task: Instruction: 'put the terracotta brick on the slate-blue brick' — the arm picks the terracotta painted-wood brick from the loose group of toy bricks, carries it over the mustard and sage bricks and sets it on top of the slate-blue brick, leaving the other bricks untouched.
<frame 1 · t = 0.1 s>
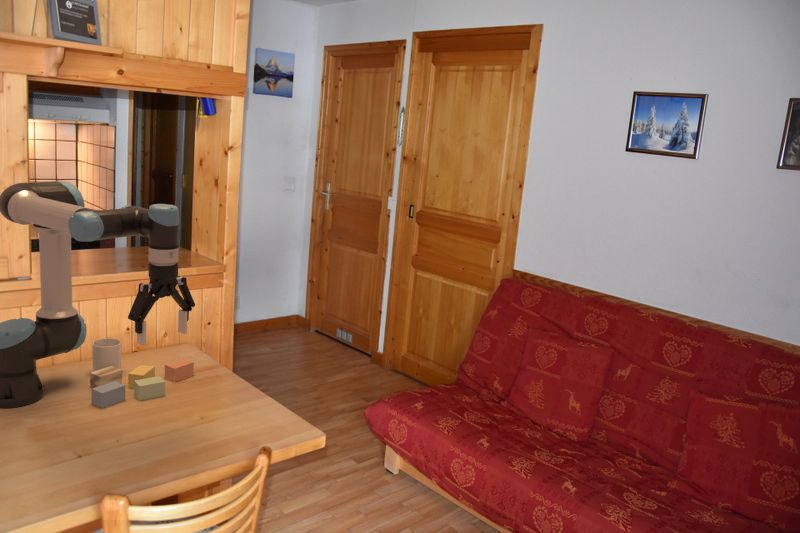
hand: (162, 338, 179), 28 cm above the table, fingers open, 13 cm apart
sage brick: (149, 395, 207), on the table
birch brick: (106, 385, 212), on the table
slate brick: (108, 402, 200), on the table
mug: (107, 372, 222), on the table
terracotta brick: (179, 377, 223), on the table
mustard brick: (141, 384, 215), on the table
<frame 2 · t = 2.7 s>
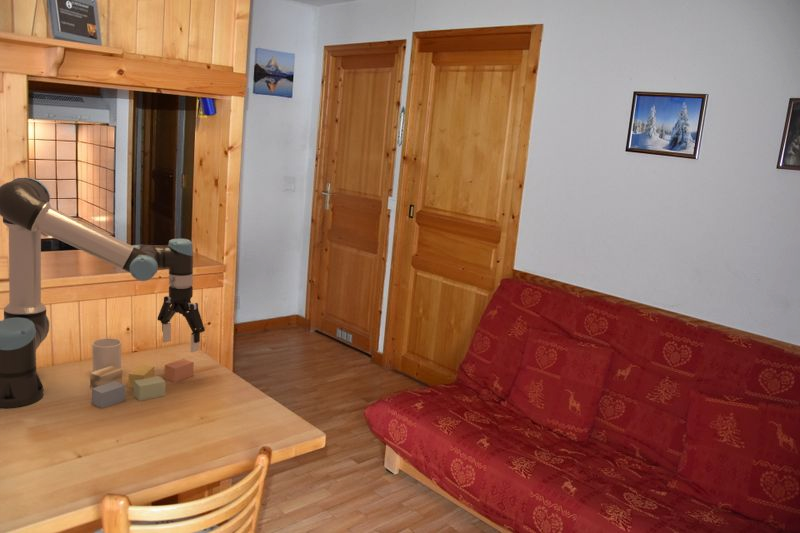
hand: (180, 346, 221), 11 cm above the table, fingers open, 13 cm apart
nothing on the table moved.
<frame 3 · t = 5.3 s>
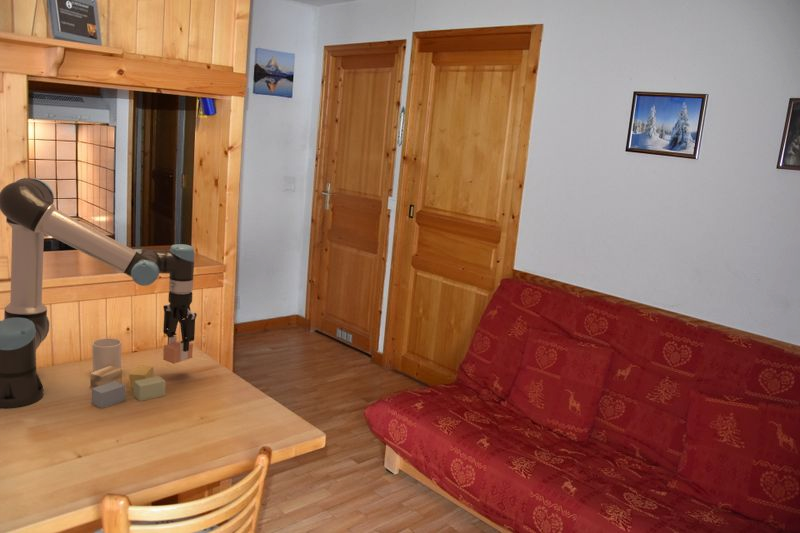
hand: (177, 357, 222), 7 cm above the table, fingers closed on terracotta brick, 5 cm apart
terracotta brick: (177, 358, 222), point 7 cm above the table, touching gripper
everything else where it was.
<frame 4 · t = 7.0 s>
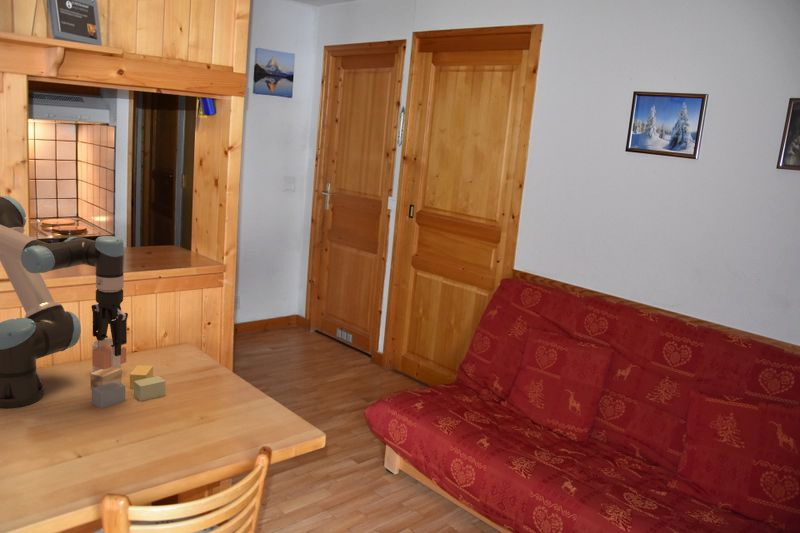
hand: (109, 362, 198), 12 cm above the table, fingers closed on terracotta brick, 5 cm apart
terracotta brick: (109, 363, 199), point 12 cm above the table, touching gripper
everything else where it was.
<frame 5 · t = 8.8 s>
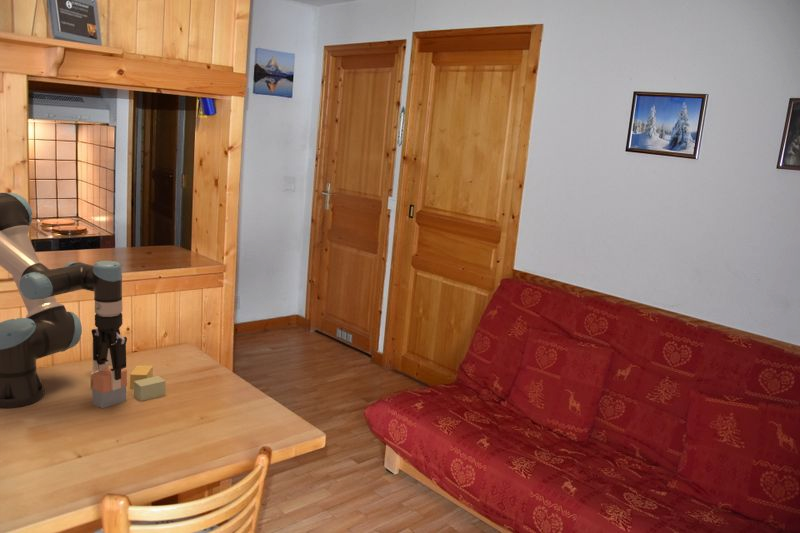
hand: (110, 386, 199), 5 cm above the table, fingers closed on terracotta brick, 5 cm apart
slate brick: (109, 402, 200), on the table, touching gripper, terracotta brick
terracotta brick: (110, 387, 199), point 5 cm above the table, touching gripper, slate brick
everything else where it was.
when the fingers open (5 cm above the table, at t = 8.8 s): terracotta brick stays where it is, resting on slate brick.
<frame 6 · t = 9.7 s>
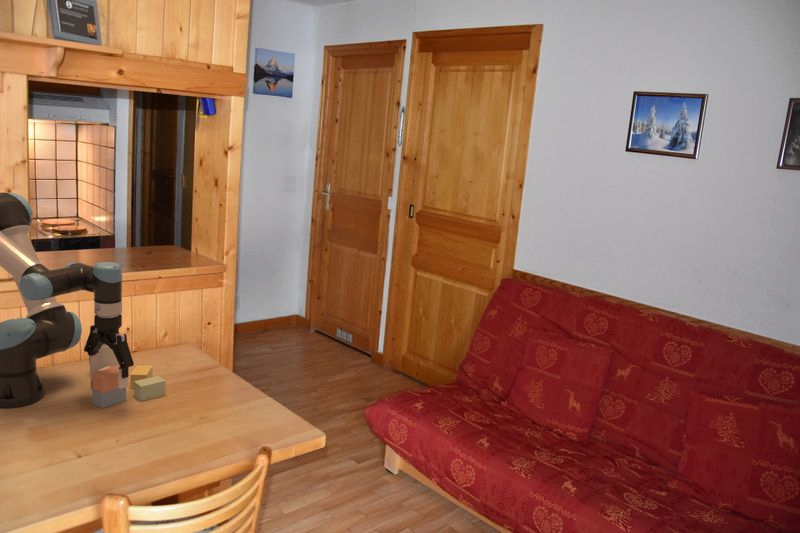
hand: (108, 381, 199), 7 cm above the table, fingers open, 13 cm apart
slate brick: (109, 402, 200), on the table, touching terracotta brick
terracotta brick: (109, 386, 199), point 5 cm above the table, touching slate brick
everything else where it was.
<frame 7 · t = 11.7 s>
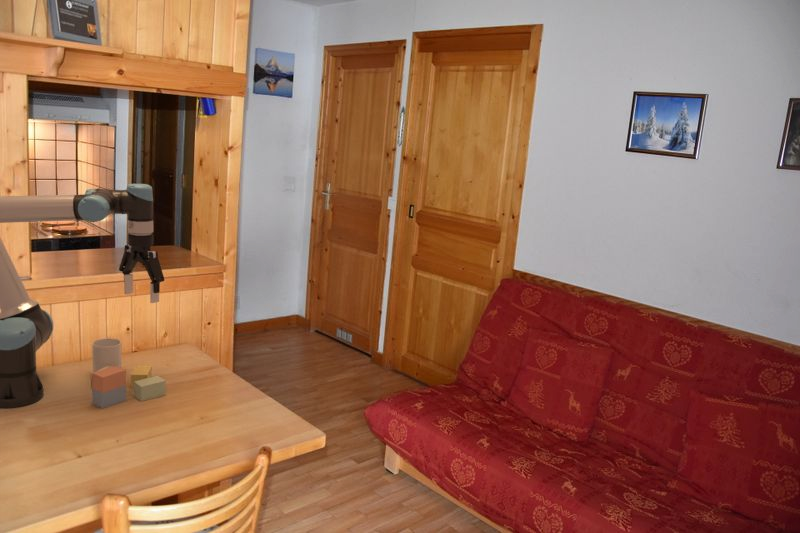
hand: (141, 297, 211), 29 cm above the table, fingers open, 13 cm apart
nothing on the table moved.
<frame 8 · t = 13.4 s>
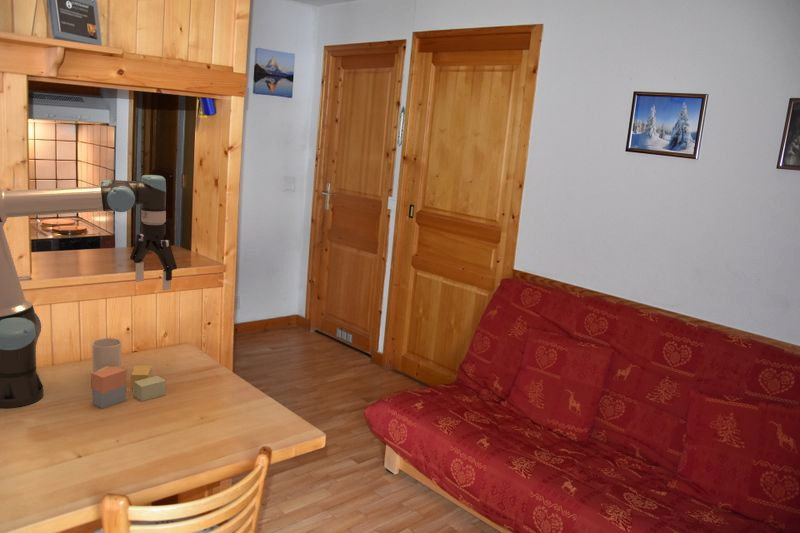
hand: (152, 285, 219), 31 cm above the table, fingers open, 13 cm apart
nothing on the table moved.
at the end: terracotta brick inside the target area on the slate brick (0.1 cm from its centre), point 5.0 cm above the slate brick's base; mustard brick moved 0.2 cm from its start; sage brick moved 0.2 cm from its start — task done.
